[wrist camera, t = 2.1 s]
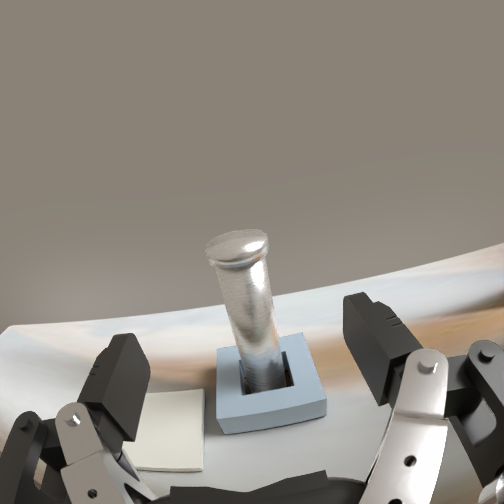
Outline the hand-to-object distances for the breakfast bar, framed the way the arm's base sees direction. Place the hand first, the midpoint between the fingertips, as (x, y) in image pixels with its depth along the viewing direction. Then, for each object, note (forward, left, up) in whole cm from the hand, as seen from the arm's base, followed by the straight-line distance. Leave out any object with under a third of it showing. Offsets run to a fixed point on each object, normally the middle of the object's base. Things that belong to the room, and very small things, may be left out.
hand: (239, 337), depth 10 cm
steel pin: (0, -11, -17) cm, 21 cm away
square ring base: (0, -15, -17) cm, 23 cm away
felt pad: (+12, -7, -17) cm, 22 cm away
